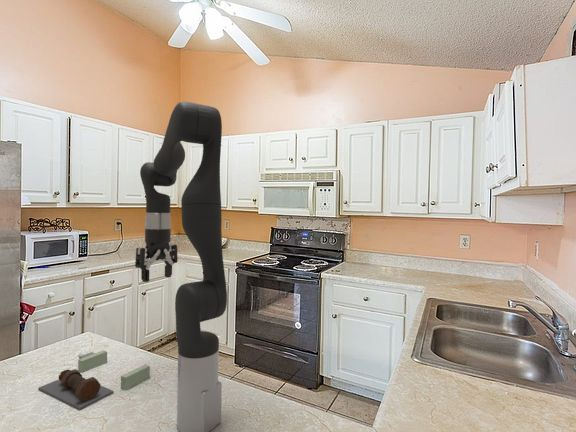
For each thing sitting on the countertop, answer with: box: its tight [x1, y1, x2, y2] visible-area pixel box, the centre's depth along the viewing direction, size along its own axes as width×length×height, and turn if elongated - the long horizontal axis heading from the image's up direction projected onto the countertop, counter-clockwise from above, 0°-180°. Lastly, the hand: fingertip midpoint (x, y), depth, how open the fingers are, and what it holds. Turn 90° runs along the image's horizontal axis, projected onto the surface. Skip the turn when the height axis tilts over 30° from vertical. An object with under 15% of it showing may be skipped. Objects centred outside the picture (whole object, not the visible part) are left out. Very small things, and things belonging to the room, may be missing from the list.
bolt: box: [58, 368, 102, 402], centre depth 90 cm, size 6×5×15 cm
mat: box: [37, 378, 115, 411], centre depth 90 cm, size 19×9×1 cm, turn 62°
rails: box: [77, 349, 151, 391], centre depth 101 cm, size 28×8×4 cm, turn 62°
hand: (157, 279), depth 104 cm, fingers open, 8 cm apart
